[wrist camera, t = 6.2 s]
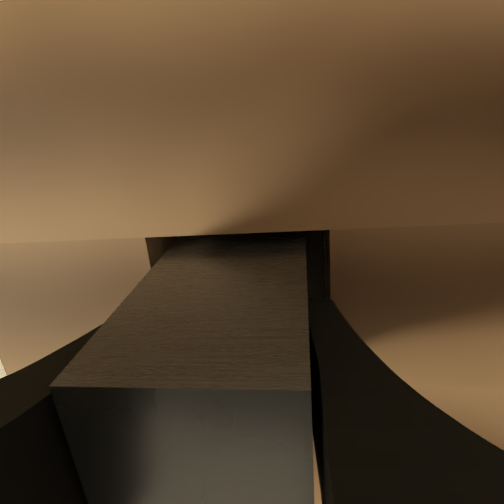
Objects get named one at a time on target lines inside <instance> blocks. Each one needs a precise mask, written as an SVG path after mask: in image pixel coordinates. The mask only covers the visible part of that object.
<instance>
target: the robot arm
mask: <svg viewBox="0 0 504 504" xmlns="http://www.w3.org/2000/svg"><path fill="white" fill-rule="evenodd" d="M308 321H309V348H310V374H311V404H312V433H313V440H314V447H315V455H316V462H317V469H318V477H319V484H320V491H321V501H322V504H504V450H502V449H500V448H499V447H497V446H495V445H494V444H492V443H490V442H489V441H487V440H486V439H484V438H482V437H481V436H479V435H478V434H476V433H474V432H473V431H471V430H470V429H468V428H467V427H465V426H464V425H462V424H461V423H459V422H458V421H457V420H455V419H454V418H452V417H451V416H449V415H448V414H446V413H445V412H444V411H442V410H441V409H439V408H438V407H436V406H435V405H434V404H432V403H431V402H430V401H428V400H427V399H426V398H424V397H423V396H422V395H420V394H419V393H418V392H417V391H416V390H414V389H413V388H412V387H411V386H410V385H408V384H407V383H406V382H405V381H403V380H402V379H401V378H400V377H399V376H398V375H397V374H396V373H395V372H393V371H392V370H391V369H390V368H389V367H388V366H387V365H386V364H385V363H384V362H383V361H382V360H381V359H380V358H379V357H378V356H377V355H376V354H375V353H374V352H373V351H372V350H371V348H370V347H369V346H368V345H367V344H366V343H365V342H364V341H363V339H362V338H361V337H360V336H359V335H358V334H357V333H356V331H355V330H354V329H353V328H352V326H351V325H350V324H349V323H348V321H347V320H346V319H345V317H344V316H343V315H342V313H341V312H340V310H339V309H338V307H337V306H336V304H335V302H334V301H333V300H332V299H331V298H308ZM102 325H103V324H101V325H100V326H98V327H96V328H95V329H93V330H91V331H90V332H88V333H86V334H85V335H83V336H81V337H80V338H78V339H76V340H74V341H72V342H71V343H69V344H67V345H65V346H63V347H62V348H60V349H58V350H56V351H54V352H52V353H51V354H49V355H47V356H45V357H43V358H42V359H40V360H38V361H36V362H34V363H32V364H30V365H28V366H26V367H24V368H22V369H20V370H18V371H16V372H14V373H12V374H10V375H8V376H5V377H3V378H1V379H0V504H88V502H87V499H86V496H85V493H84V490H83V487H82V484H81V481H80V478H79V475H78V472H77V469H76V466H75V463H74V460H73V457H72V454H71V451H70V448H69V445H68V442H67V439H66V436H65V433H64V430H63V427H62V424H61V421H60V418H59V415H58V412H57V409H56V406H55V403H54V400H53V397H52V394H51V391H50V388H49V385H50V384H51V383H52V382H53V381H54V380H55V379H56V377H57V376H58V375H59V374H60V373H61V372H62V371H63V369H64V368H65V367H66V366H67V365H68V364H69V362H70V361H71V360H72V359H73V358H74V357H75V356H76V354H77V353H78V352H79V351H80V350H81V349H82V348H83V346H84V345H85V344H86V343H87V342H88V341H89V339H90V338H91V337H92V336H93V335H94V334H95V333H96V331H97V330H98V329H99V328H100V327H101V326H102Z"/></svg>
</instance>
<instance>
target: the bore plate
mask: <svg viewBox="0 0 504 504" xmlns="http://www.w3.org/2000/svg"><path fill="white" fill-rule="evenodd" d="M313 230H324V236H325V298H331V299H332V300H333V301H334V302H335V304H336V306H337V307H338V309H339V310H340V312H341V313H342V315H343V316H344V317H345V319H346V320H347V321H348V323H349V324H350V325H351V326H352V328H353V329H354V330H355V331H356V333H357V334H358V335H359V336H360V337H361V338H362V339H363V341H364V342H365V343H366V344H367V345H368V346H369V347H370V348H371V350H372V351H373V352H374V353H375V354H376V355H377V356H378V357H379V358H380V359H381V360H382V361H383V362H384V363H385V364H386V365H387V366H388V367H389V368H390V369H391V370H392V371H393V372H395V373H396V374H397V375H398V376H399V377H400V378H401V379H402V380H403V381H405V382H406V383H407V384H408V385H410V386H411V387H412V388H413V389H414V390H416V391H417V392H418V393H419V394H420V395H422V396H423V397H424V398H426V399H427V400H428V401H430V402H431V403H432V404H434V405H435V406H436V407H438V408H439V409H441V410H442V411H444V412H445V413H446V414H448V415H449V416H451V417H452V418H454V419H455V420H457V421H458V422H459V423H461V424H462V425H464V426H465V427H467V428H468V429H470V430H471V431H473V432H474V433H476V434H478V435H479V436H481V437H482V438H484V439H486V440H487V441H489V442H490V443H492V444H494V445H495V446H497V447H499V448H500V449H502V450H504V0H5V1H0V359H1V362H2V364H3V367H4V369H5V372H6V375H7V376H8V375H10V374H12V373H14V372H16V371H18V370H20V369H22V368H24V367H26V366H28V365H30V364H32V363H34V362H36V361H38V360H40V359H42V358H43V357H45V356H47V355H49V354H51V353H52V352H54V351H56V350H58V349H60V348H62V347H63V346H65V345H67V344H69V343H71V342H72V341H74V340H76V339H78V338H80V337H81V336H83V335H85V334H86V333H88V332H90V331H91V330H93V329H95V328H96V327H98V326H100V325H101V324H103V323H104V322H105V321H106V320H107V319H108V318H109V316H110V315H111V314H112V313H113V312H114V311H115V310H116V308H117V307H118V306H119V305H120V304H121V303H122V302H123V300H124V299H125V298H126V297H127V296H128V295H129V293H130V292H131V291H132V290H133V289H134V288H135V287H136V285H137V284H138V283H139V282H140V281H141V280H142V279H143V277H144V276H145V275H146V274H147V273H148V272H149V270H150V269H151V268H152V267H153V266H154V265H155V264H156V262H157V261H158V260H159V259H160V258H161V257H162V256H163V254H164V253H165V252H166V251H167V250H168V249H169V247H170V246H171V245H172V244H173V243H174V242H175V241H176V239H177V238H178V237H177V236H194V235H218V234H241V233H265V232H289V231H313ZM312 437H313V433H312ZM313 471H314V504H322V501H321V491H320V484H319V477H318V469H317V462H316V455H315V447H314V440H313Z"/></svg>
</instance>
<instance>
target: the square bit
mask: <svg viewBox="0 0 504 504" xmlns="http://www.w3.org/2000/svg"><path fill="white" fill-rule="evenodd" d="M49 388H50V391H51V394H52V397H53V400H54V403H55V406H56V409H57V412H58V415H59V418H60V421H61V424H62V427H63V430H64V433H65V436H66V439H67V442H68V445H69V448H70V451H71V454H72V457H73V460H74V463H75V466H76V469H77V472H78V475H79V478H80V481H81V484H82V487H83V490H84V493H85V496H86V499H87V502H88V504H314V471H313V437H312V404H311V374H310V348H309V321H308V294H307V268H306V241H305V231H289V232H265V233H241V234H218V235H194V236H179V237H178V238H177V239H176V241H175V242H174V243H173V244H172V245H171V246H170V247H169V249H168V250H167V251H166V252H165V253H164V254H163V256H162V257H161V258H160V259H159V260H158V261H157V262H156V264H155V265H154V266H153V267H152V268H151V269H150V270H149V272H148V273H147V274H146V275H145V276H144V277H143V279H142V280H141V281H140V282H139V283H138V284H137V285H136V287H135V288H134V289H133V290H132V291H131V292H130V293H129V295H128V296H127V297H126V298H125V299H124V300H123V302H122V303H121V304H120V305H119V306H118V307H117V308H116V310H115V311H114V312H113V313H112V314H111V315H110V316H109V318H108V319H107V320H106V321H105V322H104V323H103V325H102V326H101V327H100V328H99V329H98V330H97V331H96V333H95V334H94V335H93V336H92V337H91V338H90V339H89V341H88V342H87V343H86V344H85V345H84V346H83V348H82V349H81V350H80V351H79V352H78V353H77V354H76V356H75V357H74V358H73V359H72V360H71V361H70V362H69V364H68V365H67V366H66V367H65V368H64V369H63V371H62V372H61V373H60V374H59V375H58V376H57V377H56V379H55V380H54V381H53V382H52V383H51V384H50V385H49Z"/></svg>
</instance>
